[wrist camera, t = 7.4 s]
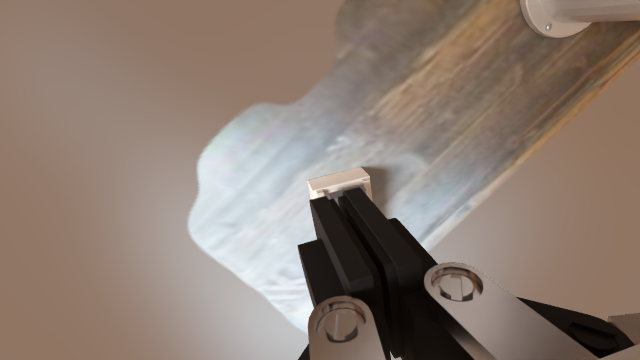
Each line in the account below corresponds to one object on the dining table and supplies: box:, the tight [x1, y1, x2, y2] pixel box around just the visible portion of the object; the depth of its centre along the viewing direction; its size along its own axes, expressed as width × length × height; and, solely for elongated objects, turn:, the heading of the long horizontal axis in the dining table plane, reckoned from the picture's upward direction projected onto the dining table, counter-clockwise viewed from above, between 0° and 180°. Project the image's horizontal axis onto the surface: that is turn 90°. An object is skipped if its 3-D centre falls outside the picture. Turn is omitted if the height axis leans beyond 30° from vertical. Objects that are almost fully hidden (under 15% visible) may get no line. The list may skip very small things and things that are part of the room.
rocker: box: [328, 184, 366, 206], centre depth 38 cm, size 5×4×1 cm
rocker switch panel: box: [307, 167, 372, 201], centre depth 42 cm, size 14×7×4 cm, turn 10°
